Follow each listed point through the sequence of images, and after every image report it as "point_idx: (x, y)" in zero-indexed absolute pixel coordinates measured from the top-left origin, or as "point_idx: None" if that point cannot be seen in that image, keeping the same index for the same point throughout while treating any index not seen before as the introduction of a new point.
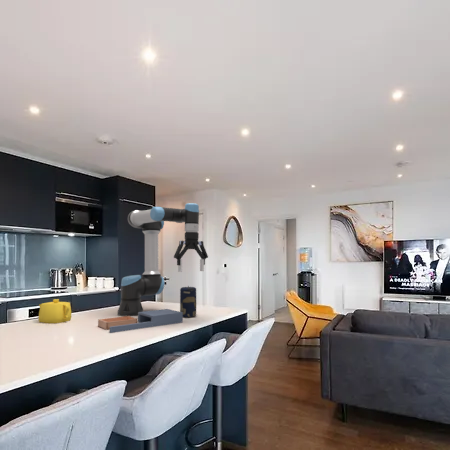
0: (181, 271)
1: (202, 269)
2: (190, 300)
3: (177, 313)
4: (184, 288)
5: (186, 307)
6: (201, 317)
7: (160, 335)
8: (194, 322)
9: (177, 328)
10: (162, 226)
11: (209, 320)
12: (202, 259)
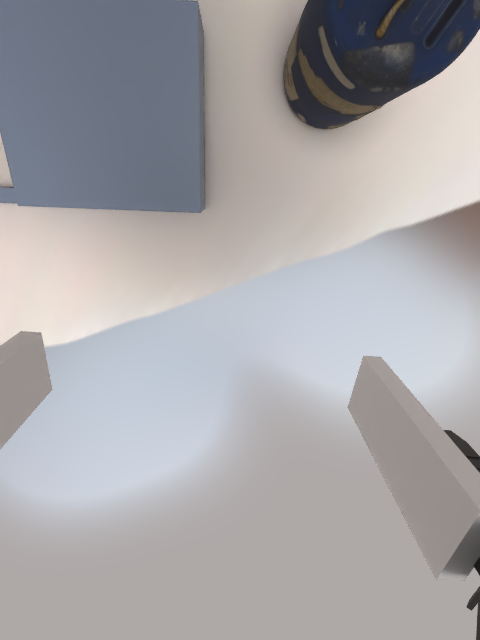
0: (41, 392)
1: (356, 420)
2: (336, 106)
3: (168, 211)
4: (340, 12)
5: (302, 99)
6: (354, 161)
7: None
8: (244, 246)
9: (125, 298)
10: None
11: (321, 254)
12: (435, 569)
